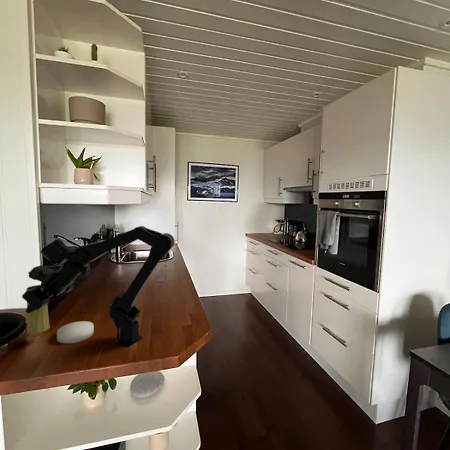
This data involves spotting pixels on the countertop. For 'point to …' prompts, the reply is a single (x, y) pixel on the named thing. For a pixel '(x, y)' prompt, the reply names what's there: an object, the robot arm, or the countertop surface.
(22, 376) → the countertop surface
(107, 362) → the countertop surface
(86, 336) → the plinth
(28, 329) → the vase
